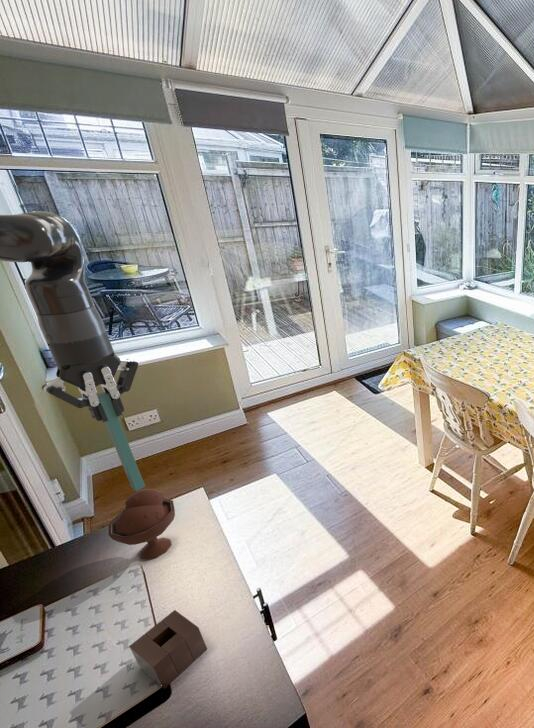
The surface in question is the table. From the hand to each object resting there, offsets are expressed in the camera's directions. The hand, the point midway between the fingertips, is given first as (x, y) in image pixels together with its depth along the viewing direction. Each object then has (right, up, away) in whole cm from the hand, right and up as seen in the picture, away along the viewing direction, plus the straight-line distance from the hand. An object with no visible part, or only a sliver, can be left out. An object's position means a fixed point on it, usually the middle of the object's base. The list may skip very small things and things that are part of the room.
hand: (110, 417), depth 78 cm
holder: (+18, -40, -7) cm, 45 cm away
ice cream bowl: (-2, -31, +12) cm, 34 cm away
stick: (-1, -16, +7) cm, 17 cm away
